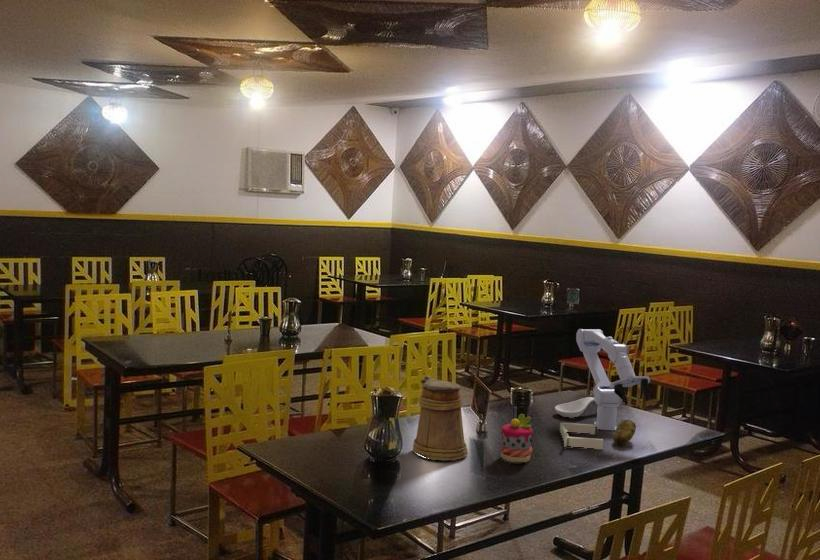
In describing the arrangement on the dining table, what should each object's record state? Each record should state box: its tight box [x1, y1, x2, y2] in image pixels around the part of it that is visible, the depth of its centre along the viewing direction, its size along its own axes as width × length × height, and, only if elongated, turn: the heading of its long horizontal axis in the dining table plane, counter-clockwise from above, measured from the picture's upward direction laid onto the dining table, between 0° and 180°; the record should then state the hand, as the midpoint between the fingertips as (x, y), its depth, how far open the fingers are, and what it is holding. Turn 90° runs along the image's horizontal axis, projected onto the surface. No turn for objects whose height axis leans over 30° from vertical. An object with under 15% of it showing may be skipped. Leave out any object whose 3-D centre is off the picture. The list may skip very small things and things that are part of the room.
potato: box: [612, 419, 637, 447], centre depth 276 cm, size 8×13×8 cm, turn 132°
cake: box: [499, 413, 533, 462], centre depth 252 cm, size 10×11×15 cm
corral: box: [559, 422, 604, 450], centre depth 278 cm, size 19×13×4 cm
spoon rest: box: [554, 396, 595, 419], centre depth 313 cm, size 24×12×7 cm, turn 117°
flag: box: [563, 430, 567, 448], centre depth 266 cm, size 3×1×7 cm, turn 175°
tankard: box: [412, 374, 469, 461], centre depth 256 cm, size 18×24×25 cm
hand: (637, 401), depth 272 cm, fingers open, 7 cm apart
